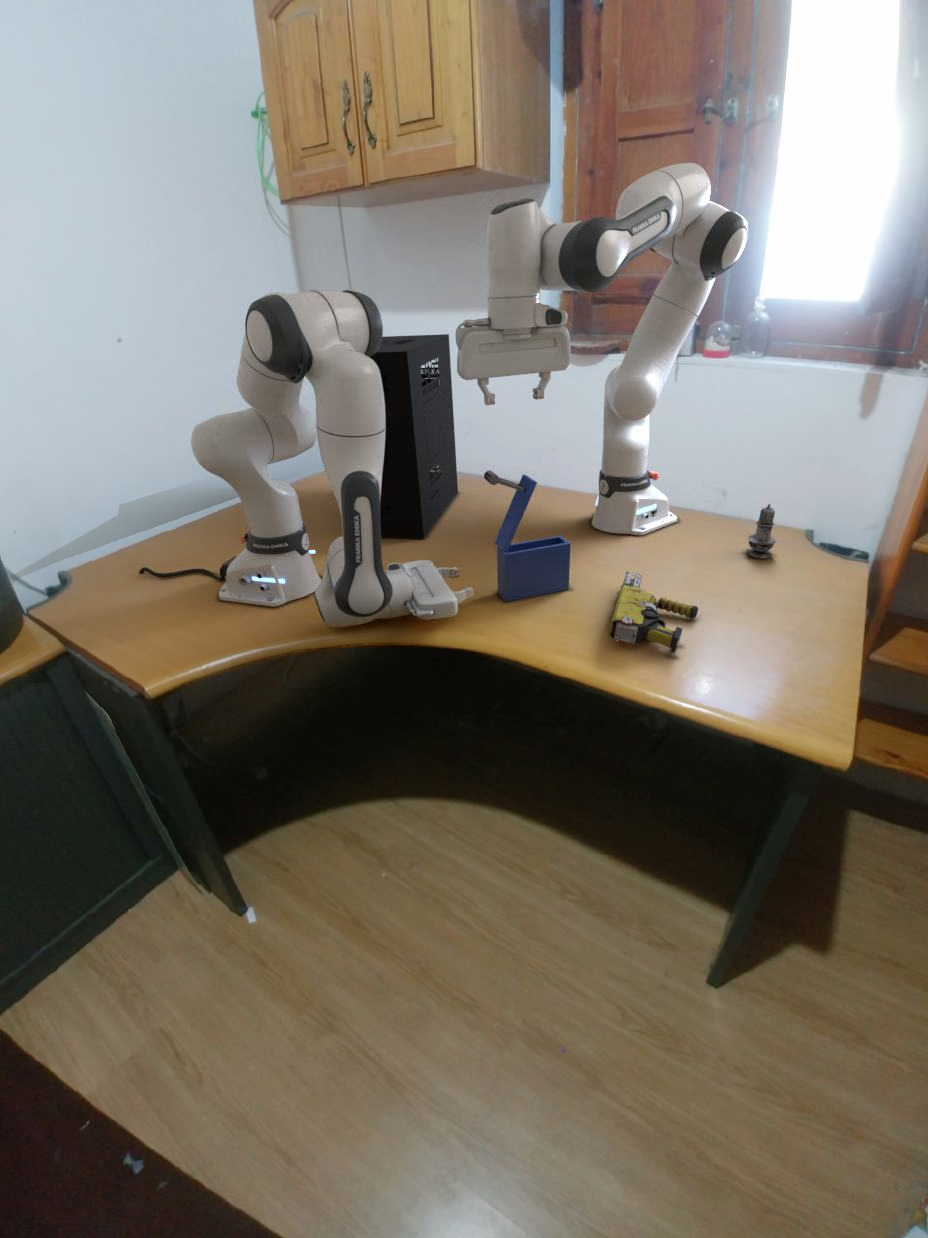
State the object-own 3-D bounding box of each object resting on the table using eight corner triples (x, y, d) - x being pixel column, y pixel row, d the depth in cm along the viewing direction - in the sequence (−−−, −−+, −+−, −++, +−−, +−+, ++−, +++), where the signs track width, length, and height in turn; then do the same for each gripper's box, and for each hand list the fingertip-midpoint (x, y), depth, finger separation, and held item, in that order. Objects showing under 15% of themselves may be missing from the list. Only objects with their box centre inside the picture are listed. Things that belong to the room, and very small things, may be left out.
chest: (559, 580, 133) (560, 535, 127) (568, 589, 129) (570, 543, 124) (497, 592, 129) (496, 546, 124) (505, 601, 125) (504, 554, 120)
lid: (527, 475, 119) (487, 461, 115) (537, 482, 115) (496, 467, 111) (498, 544, 124) (459, 532, 120) (507, 552, 120) (466, 541, 116)
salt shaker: (775, 559, 136) (787, 508, 130) (747, 558, 137) (757, 508, 131) (769, 548, 141) (780, 499, 135) (742, 548, 142) (752, 499, 136)
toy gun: (700, 582, 122) (625, 568, 126) (700, 638, 102) (611, 620, 106) (695, 602, 124) (621, 588, 128) (693, 661, 104) (606, 643, 108)
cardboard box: (424, 538, 157) (407, 351, 135) (351, 535, 162) (323, 353, 139) (457, 492, 189) (448, 334, 166) (396, 490, 193) (379, 336, 171)
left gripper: (410, 603, 110) (482, 589, 113) (387, 560, 127) (450, 549, 130) (413, 632, 113) (483, 618, 116) (391, 586, 130) (452, 575, 133)
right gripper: (460, 321, 97) (464, 410, 103) (576, 312, 101) (573, 398, 108) (449, 319, 102) (454, 404, 109) (560, 310, 107) (557, 393, 114)
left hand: (465, 581), depth 123 cm, fingers open, 8 cm apart
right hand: (514, 401), depth 109 cm, fingers open, 8 cm apart
